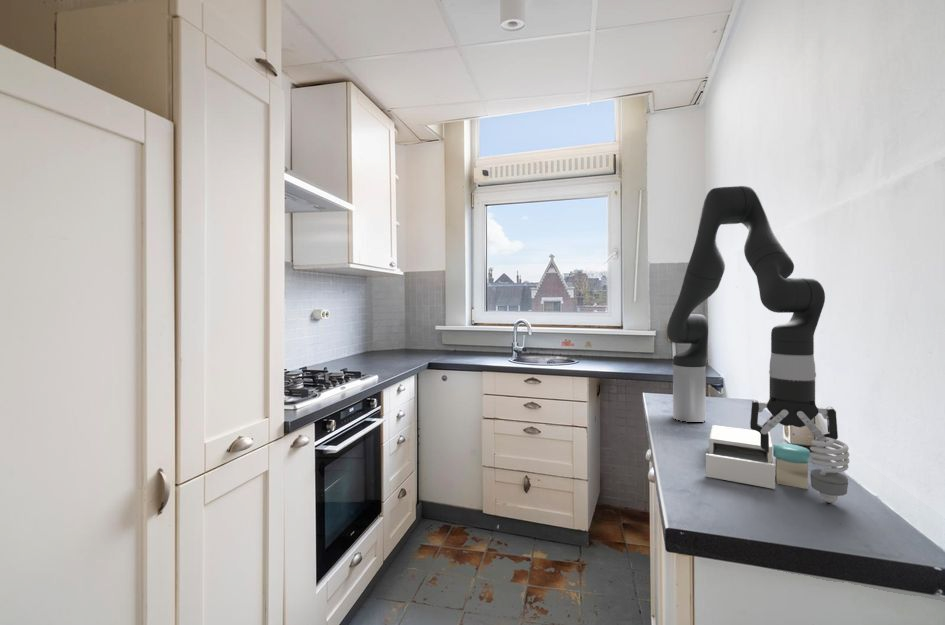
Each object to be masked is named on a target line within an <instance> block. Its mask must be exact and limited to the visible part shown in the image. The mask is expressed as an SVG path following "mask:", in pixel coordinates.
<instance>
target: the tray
mask: <svg viewBox="0 0 945 625" xmlns="http://www.w3.org/2000/svg"><path fill="white" fill-rule="evenodd" d="M705 477H708V478H713V479H719V480H723V481H724V480H725V481H729V482H734V483H740V484H745V485H751V486H757V487H761V488H767V489H768V488H769V489H772V490H775V489H776V476H775V463H772V464H771V463H766V456H760V455H753V454H746V453H740V452H733V451H727V450H720V449H715V453H714V454H709V452H708V453H705Z"/></svg>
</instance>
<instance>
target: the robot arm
mask: <svg viewBox="0 0 945 625" xmlns="http://www.w3.org/2000/svg"><path fill="white" fill-rule="evenodd" d="M736 224H742V226H743V225H744V227H746V229H747V230H748V233H747V236H746V239H745V241H744V242H745V243H744V246H743V252H744V256H745V259H746V262H747V264H748V266H750V268H751V269H752V272H753V273H754V274H755V276H756V282H757V285H758V291H759V298H760V301H761V304H762V305H763V306H764V308H766V309H767V310H768V311H770V312H773V313H777V314H778V313H785V314H786V313H787V314H788V313H789V314H790V313H792V315H791V318H790V320H789V321H788V322H785V323H782V324H777V325H775V326H773V328H772V329H771V333H770V334H771V336H770V359H769V370H768V374H769V399H768V401H767V402H763V401H758V400H756V399H753V400H752V401H751V408H750V409H751V412H750V422H749V424H750V430H756V431H758V432H759V433H760V434H761V448H762V449H764V450H765V452H767V453H769V434H768V432H770V431H771V430H772V429H773V428H775V427H776V426H777V425H778V424H780V425H782V426H785V427H789V426H793V427H797V428H803V427H807V428H808V430H810V432H811V433H812V434H813V435H814V436H815V437H816V438H815V439H814V440H818V441H824V442H827V441H826V440H825V438H826V437H829V438H832V439H836V440H838V438H839V435H838V421H837V410H836V409H835V408H834V407H832V406H827V407H817V404H816V377H817V373H816V362H815V357H814V356H815V354H814V352H815V350H814V349H815V346H814V345H815V341H814V340H815V332H816V330H817V327H818V323H819V320H820V318H821V314H822V312H823V308H824V307H825V306H824V305H825V302H826V301H825V300H826V292H825V290H824V287H823V285H822V284H821V283H820V282H819V281H818V280H817V279H815V278H809V277H808V278H807V277H802V278H801V277H799V278H797V277H795V278H794V277H793V278H789V277H790V276H791V275H792V274H793V273H794V270H795V264H794V261H793V260H792V258H791V257H790V256H789V254H788V252H787V251H786V250H785V249H784V248H783V246H782V244H781V243H780V242H779V240H778V239H777V237H776V235H775V234H774V232H773V229H772V227H771V224H770V221H769V219H768V217H767V213H766V212H765V209H764V207H763V204H762V201H761V199H760V198H759V195H758V194H757V192H756V191H755V189H754V188H752V187H750V186H747V185H737V186H734V185H733V186H723V187H722V186H721V187H714V188H712V189H710V190H709V191H708V193H707V194H706V197H705V198H704V202H703V205H702V209H701V213H700V217H699V222H698V229H697V234H696V238H695V242H694V246H693V249H692V251H691V252H692V253H691V256H690V259H689V261H688V265H687V268H686V271H685V274H684V278H683V281H682V285H681V289H680V291H679V294H678V298H677V301H676V303H675V305H674V308H673V310H672V312H671V315H670V317H669V320H668V323H667V331H666V335H667V338H668V340H669V341H670V343H673V344H685V345H686V344H688V345H690V347H689V348H688V349H686V350H685V351H683V352H680V353H677V354H675V355H674V356H673V357H672V358H673V359H672V369H673V370H672V419H673V420H675V419H676V420H675V421H678V420H680V421H679V422H682V421H686V422H685V423H687V422H703V423H705V422H706V417H707V415H706V410H707V407H706V405H707V404H706V402H707V400H706V399H707V398H706V395H707V394H706V390H707V389H706V388H707V387H706V386H707V383H706V382H707V381H706V377H707V376H706V375H707V374H706V370H707V367H706V365H707V357H708V340H709V324H708V320H707V317H706V316H705V315H703V314H698V313H695V314H692V312H693V311H694V310H695V309H696V308H697V307H698V306H700V305H701V304H702V303H703V302H705V301H706V300H707V299H709V297H711V296H712V295H713V294H714V293H715V292H716V291H717V289H718V288H719V287H720V284H721V281H722V278H723V275H724V273H725V270H726V264H725V259H724V257H723V254H722V252H721V251H720V248H719V247H718V244H717V234H718V230H719V228H720V226H721V225H736ZM764 409H767V410H768V412H769V413H770V414H771V416H769V417H768V418H767V420H766V421H765V422H764V423H763V424H759V423H758V422H759V421H758V419H759V413H762V412H763V411H764ZM818 414H820V415H821V416H822V418H823V419H824V420H826V426H827V431H825V432H822V431H821V429H819V427H818V426H817V425H816V424H815V422H814V421H813V419H814V418H816V417H817V415H818ZM704 421H705V422H704ZM819 447H820V446H819ZM824 448H827V447H824ZM824 454H825V453H824Z"/></svg>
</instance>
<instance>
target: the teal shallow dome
mask: <svg viewBox="0 0 945 625" xmlns="http://www.w3.org/2000/svg"><path fill="white" fill-rule="evenodd" d="M810 453H811V450H810V449H808V448H807V447H804V446H800V445H797V444H791V443H782V442H780V443H775V444H772V457H774V458H775V459H776V458H778V459H780V460H783V461H787V462H793V463H809V462H811V461H810V460H811V456H810Z"/></svg>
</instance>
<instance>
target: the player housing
mask: <svg viewBox="0 0 945 625" xmlns="http://www.w3.org/2000/svg"><path fill="white" fill-rule="evenodd" d="M710 430H711V431H710V434H709V438H708V439H709V440H708V443H709V445H708V448H709V450H708V454H714V453H715V449H720V450H727V451H733V452H740V453H746V454H753V455H760V456H766V463H771V464H773V443H772V438H771V432H770V431H769V432H768V434H769V453H767V452H765V450H764V449H762V448H761V434H760V433H759V432H758V431H756V430H752V429H746V428H741V427H730V426H723V425H714V424H712V428H711V429H710Z"/></svg>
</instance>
